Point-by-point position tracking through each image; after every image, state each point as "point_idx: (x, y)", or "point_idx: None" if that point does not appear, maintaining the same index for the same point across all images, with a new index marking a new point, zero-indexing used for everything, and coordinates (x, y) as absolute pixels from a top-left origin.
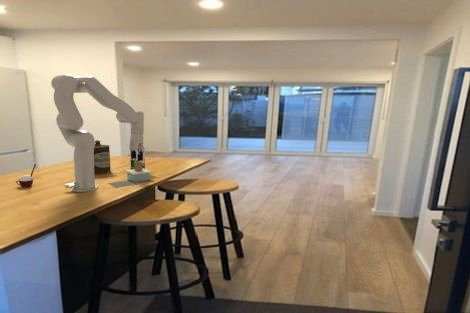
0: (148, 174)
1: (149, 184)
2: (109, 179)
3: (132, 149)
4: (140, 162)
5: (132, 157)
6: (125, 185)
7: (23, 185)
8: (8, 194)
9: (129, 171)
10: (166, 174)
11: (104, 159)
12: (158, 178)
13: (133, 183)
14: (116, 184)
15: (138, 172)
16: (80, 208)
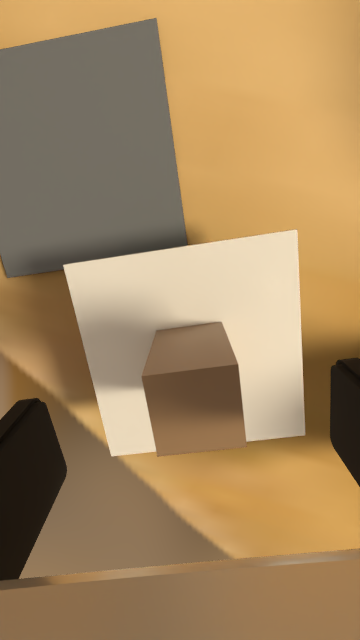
0: None
1: (8, 353)
2: (344, 83)
3: (165, 583)
4: (152, 430)
5: (341, 390)
6: (4, 168)
7: None
8: None
9: (192, 259)
10: (270, 538)
11: None
12: (171, 459)
13: (54, 249)
14: (68, 96)
15: (96, 331)
16: None
